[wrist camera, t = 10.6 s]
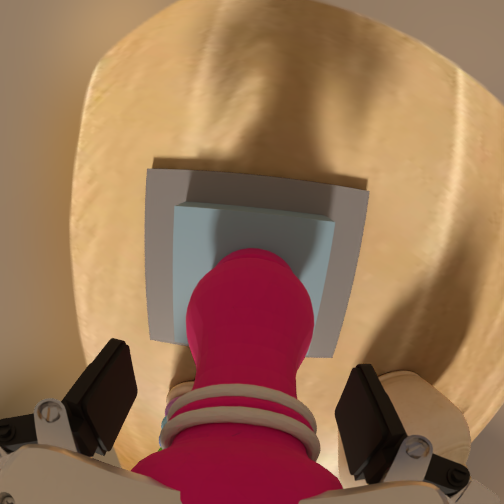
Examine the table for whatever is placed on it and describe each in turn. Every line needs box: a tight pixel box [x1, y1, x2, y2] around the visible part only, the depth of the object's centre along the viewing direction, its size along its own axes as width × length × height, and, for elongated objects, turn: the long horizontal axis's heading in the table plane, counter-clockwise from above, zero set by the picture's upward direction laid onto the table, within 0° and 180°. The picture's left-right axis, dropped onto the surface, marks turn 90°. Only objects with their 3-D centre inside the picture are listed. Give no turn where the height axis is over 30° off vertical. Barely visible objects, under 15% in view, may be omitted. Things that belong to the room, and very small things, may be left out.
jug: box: [338, 370, 471, 489], centre depth 16 cm, size 15×16×25 cm
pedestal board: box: [145, 169, 369, 358], centre depth 21 cm, size 18×16×4 cm
